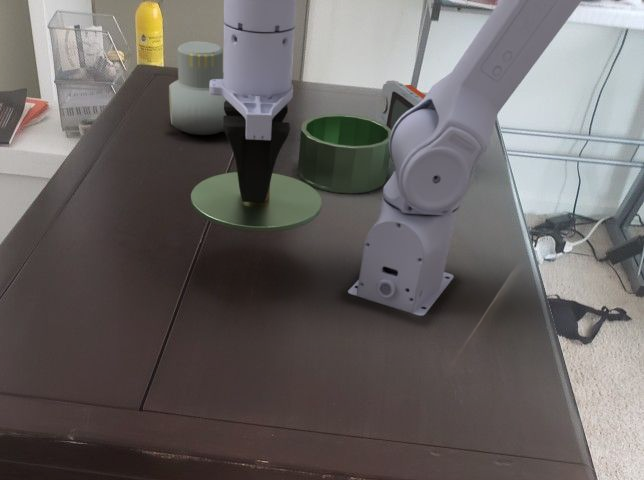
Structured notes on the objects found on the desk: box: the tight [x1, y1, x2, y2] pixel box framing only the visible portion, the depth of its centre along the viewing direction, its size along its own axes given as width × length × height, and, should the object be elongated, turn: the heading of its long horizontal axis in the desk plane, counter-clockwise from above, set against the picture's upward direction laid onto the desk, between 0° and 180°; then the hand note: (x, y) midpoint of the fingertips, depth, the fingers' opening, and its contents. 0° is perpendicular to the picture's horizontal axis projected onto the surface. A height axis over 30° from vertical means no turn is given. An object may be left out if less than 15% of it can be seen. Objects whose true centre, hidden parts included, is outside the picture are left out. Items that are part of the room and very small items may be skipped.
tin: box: [297, 113, 392, 195], centre depth 92 cm, size 11×11×5 cm
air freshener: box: [168, 40, 227, 136], centre depth 100 cm, size 11×8×10 cm
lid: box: [190, 171, 323, 233], centre depth 68 cm, size 12×12×5 cm
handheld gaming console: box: [375, 79, 427, 130], centre depth 97 cm, size 14×3×8 cm, turn 18°
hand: (253, 193), depth 69 cm, fingers closed on lid, 2 cm apart
